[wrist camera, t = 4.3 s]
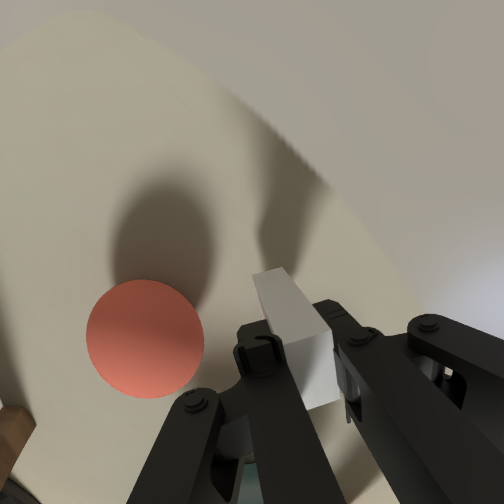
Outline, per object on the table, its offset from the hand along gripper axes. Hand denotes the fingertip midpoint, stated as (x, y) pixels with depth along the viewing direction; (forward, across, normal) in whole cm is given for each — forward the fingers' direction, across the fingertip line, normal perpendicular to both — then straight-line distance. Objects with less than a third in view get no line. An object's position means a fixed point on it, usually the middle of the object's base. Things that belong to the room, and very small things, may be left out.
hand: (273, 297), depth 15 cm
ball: (-1, +6, 0) cm, 6 cm away
